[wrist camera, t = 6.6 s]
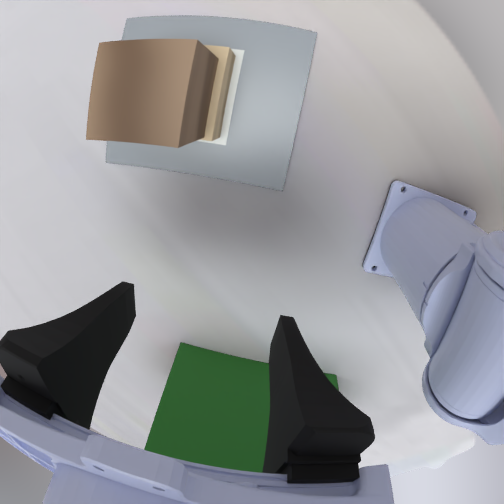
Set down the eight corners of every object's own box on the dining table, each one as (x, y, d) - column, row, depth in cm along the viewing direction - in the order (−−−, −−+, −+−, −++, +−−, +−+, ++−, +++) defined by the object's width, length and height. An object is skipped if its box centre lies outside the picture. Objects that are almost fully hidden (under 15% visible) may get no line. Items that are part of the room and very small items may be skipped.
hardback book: (176, 380, 32) (125, 558, 11) (180, 342, 29) (112, 562, 8) (311, 407, 33) (315, 578, 12) (336, 374, 30) (355, 578, 9)
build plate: (316, 34, 15) (317, 32, 15) (282, 189, 21) (282, 191, 20) (130, 20, 15) (126, 18, 14) (109, 161, 21) (105, 163, 20)
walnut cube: (218, 58, 14) (197, 39, 9) (204, 137, 16) (178, 148, 12) (141, 55, 14) (99, 42, 9) (130, 129, 16) (86, 139, 12)
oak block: (235, 55, 16) (229, 47, 13) (219, 137, 19) (211, 141, 16) (153, 50, 16) (136, 44, 13) (141, 128, 19) (123, 131, 16)
